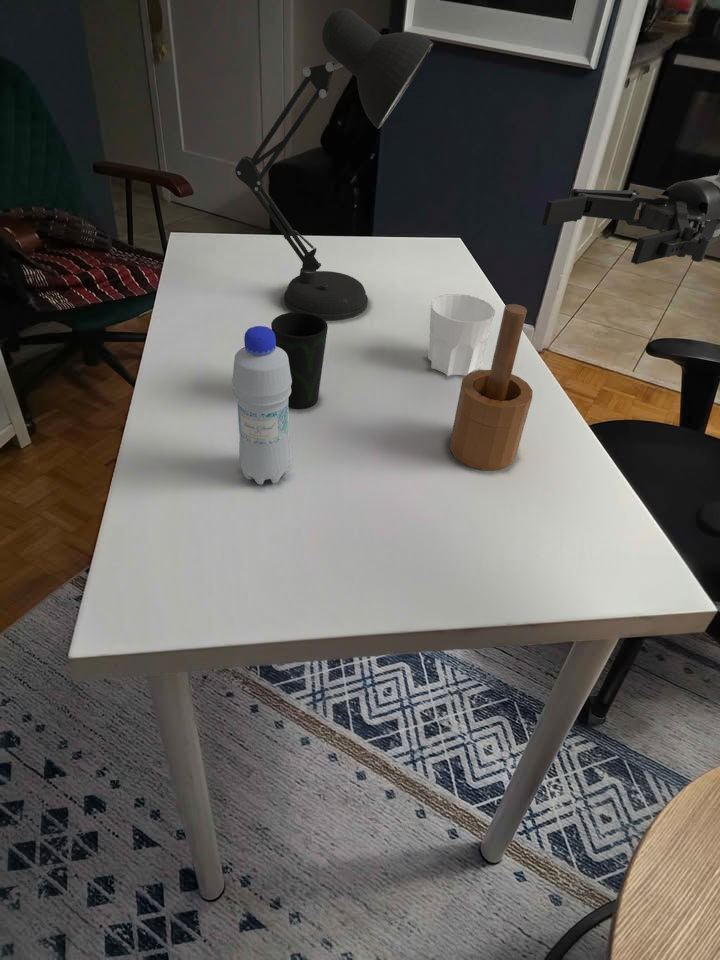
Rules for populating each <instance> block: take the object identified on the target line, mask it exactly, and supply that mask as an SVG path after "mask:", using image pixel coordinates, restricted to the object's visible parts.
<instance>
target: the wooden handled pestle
mask: <svg viewBox="0 0 720 960" xmlns="http://www.w3.org/2000/svg"><path fill="white" fill-rule="evenodd" d="M527 313H528V309H527V308H526V307H525V306H523V305H520V304H516V303H509V304H506V305H505V306H504V309H503V313H502V318H501V322H500V326H499V330H498V335H497V340H496V344H495V349H494V353H493V356H492V357H493V358H492V361H491V362H492V363H491V366H490V370H491V371H490V375H489V380H488V384H487V389H486V393H485V395H482V396H484V397H486V398H489V399H492V400H498V401H507V400H506V399H505V397H506V393H507V389H508V385H509V381H510V377H511V374H513V369H514V365H515V360H516V356H517V352H518V348H519V344H520V341H521V336H522V332H523V328H524V325H525V320H526V316H527Z"/></svg>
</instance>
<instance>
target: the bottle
mask: <svg viewBox="0 0 720 960" xmlns="http://www.w3.org/2000/svg"><path fill="white" fill-rule="evenodd" d="M243 337H244V338H243V341H244V346H243V347H242V348H240V349H238V351H236V353H235V355H234V358H233V369H232V379H231V383H232V386H233V394H234V396H235V398H236V402H237V417H238V432H239V446H238V447H239V448H238V455H239V456H238V457H239V458H238V459H239V465H240V469H241V471H242V473H243V475H244V477H245V478H246V479H247V480H253V479H254V481H255V482H256V484H257V485H264V484H265V483H264V482H265V480H270V482H271V483H272V484H277V483H278V482H279V481H280V479H281V478H282V477H285V476H287V474H288V473H289V472H290V471H289V470H290V466H291V446H290V445H291V443H290V436H289V435H290V433H289V431H290V428H289V427H290V425H289V424H290V423H289V422H290V421H289V415H290V414H289V413H290V411H289V408H290V407H288V397H289V396H290V394H291V384H292V378H291V373H290V367H289V360H288V356H287V354H286V352H285V351H284V350H282V349H281V348H279V347H276V338H275V334H274V332H273V331H272V328H270V327H268V326H265V325H256V326H252V327H249V328H248V329H247V330H246V331H245V333H244V336H243Z"/></svg>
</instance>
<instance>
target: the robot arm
mask: <svg viewBox="0 0 720 960" xmlns="http://www.w3.org/2000/svg"><path fill="white" fill-rule="evenodd" d="M640 193H641V192H640V190H639V189H636V188H634V189H626V190H617V189H616V190H613V189H611V190H610V189H584V188H583V189H582V188H571V189H570V192H569V195H568V197H566V198H559V199H552V200H547V201H546V205H545V209H544V213H543V217H542V221H541V225H543V226H546V227H547V226H553V225H559V224H564V223H569V222H576V223H577V222H578V221H580V220H582V219H583V217H586V218H596V219H604V220H605V219H607V220H616V221H625V223H626V224H627V225H628V226H633V227H643V228H644V227H645V228H646V229H647V230H653V231H656V230H657V232H658V233H654V234H649V235H644V236H640V237H638V238H637V242H636V246H635V248H634V250H633V254H632V257H631V260H630V263H631V264H634V265H639V264H645V263H648V262H651V261H655V260H659V259H663V258H670V257H673V256H676V257H678V258H684V257H686V256H687V255H689V256H691V258H690V259H691V260H692V261H694V262H696V263H700V262H703V260H704V258H705V256H706V253H707V250H708V249H709V246H710V245H711V244H714V243H716V242H717V241H718V239H719V236H720V169H719V170H718V173H717V174H716V175H710V176H704V177H699V178H694V179H688V180H682V181H677V182H675V183H673V184H672V185H670V186H669V187H667V188H666V189H665V190H664V191H663V192H662V193H661V194H654V195H652V196H651V195H642V194H641V195H640ZM637 210H638V218H635V216H636V213H637Z"/></svg>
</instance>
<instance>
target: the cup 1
mask: <svg viewBox="0 0 720 960" xmlns="http://www.w3.org/2000/svg"><path fill="white" fill-rule="evenodd" d="M270 327H271V328H270V329H271V330H272V331H273V332H274V334H275V338H276V347H279V348H281V349H282V350H284V351H285V352H286V354H287V356H288V360H289V367H290V373H291V378H292V384H291V394H290V396H289V397H288V408H290V409H292V410H293V409H294V410H306V409H309V408H312V407H314V406H315V405H317V403H318V401H319V394H320V388H321V380H322V373H323V367H324V366H323V365H324V359H325V358H324V357H325V350H326V342H327V337H328V328H329V326H328V323H327V320H324V319H323V318H321V317H319V316H317V315H314V314H311V313H306V312H293V311H290V312H286V313H282V314H279V315H278V316H275V318H274V319H272V321H271V326H270Z"/></svg>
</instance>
